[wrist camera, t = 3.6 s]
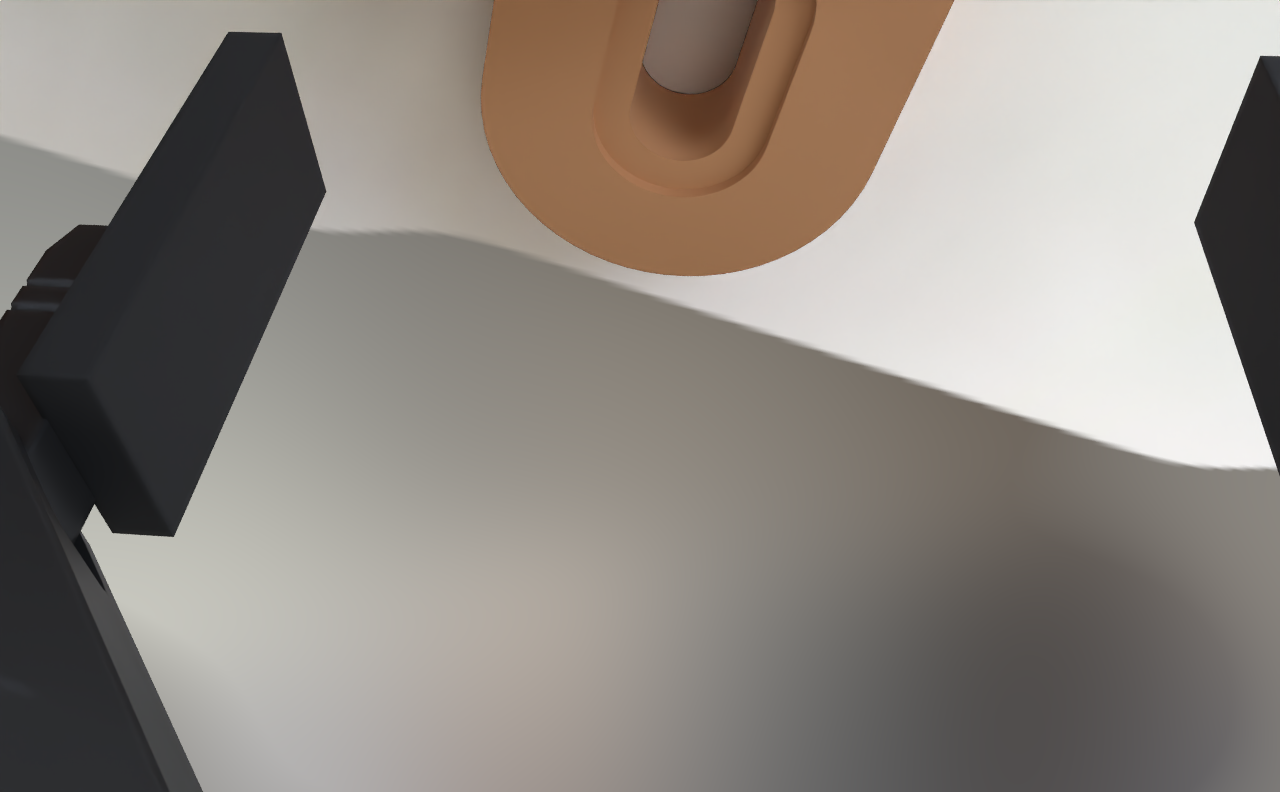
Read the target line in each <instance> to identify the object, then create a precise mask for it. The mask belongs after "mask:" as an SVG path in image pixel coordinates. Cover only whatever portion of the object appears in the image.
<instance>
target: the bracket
mask: <svg viewBox="0 0 1280 792" xmlns="http://www.w3.org/2000/svg"><path fill="white" fill-rule="evenodd" d="M658 2H659V0H494V4H493V11H492V17H491V24H490V30H489V37H488V44H487V50H486V57H485V63H484V70H483V77H482V88H481V110H482V119H483V125H484V131H485V135H486V138H487V141H488V145H489V148H490V151H491V153H492V156H493V158H494V160H495V163H496V165H497V167H498V169H499V171H500V172H501V174H502V176H503V178H504V179H505V181H506V183H507V184H508V186H509V187H510V188H511V190H512V191H513V193H514V194H515V195H516V197H517V198H518V199H519V200H520V201H521V202H522V204H523V205H524V206H525V207H526V208H527V209H528V210H529V211H530V212H531V213H532V214H533V215H534V216H535V217H536V218H537V219H538V220H539V221H540V222H541V223H542V224H544V225H545V226H546V227H548V228H549V229H550V230H551V231H553V232H554V233H555V234H557V235H558V236H560V237H561V238H563V239H564V240H566V241H568V242H569V243H571V244H572V245H574V246H576V247H578V248H580V249H582V250H583V251H585V252H587V253H589V254H591V255H594V256H596V257H599V258H601V259H603V260H606V261H608V262H611V263H614V264H617V265H621V266H624V267H627V268H631V269H635V270H640V271H644V272H650V273H656V274H663V275H676V276H706V275H717V274H725V273H731V272H736V271H742V270H745V269H749V268H753V267H757V266H760V265H763V264H766V263H768V262H771V261H774V260H777V259H779V258H781V257H783V256H785V255H788V254H790V253H792V252H794V251H796V250H798V249H799V248H801V247H803V246H804V245H806V244H808V243H809V242H811V241H813V240H814V239H815V238H817V237H818V236H819V235H821V234H822V233H823V232H825V231H826V230H827V229H828V228H830V227H831V226H832V225H833V224H834V223H835V222H836V221H837V220H838V219H840V218H841V216H842V215H843V214H844V213H845V212H846V211H847V210H848V209H849V208H850V206H851V205H852V204H853V203H854V201H855V200H856V199H857V197H858V196H859V194H860V193H861V192H862V190H863V189H864V187H865V185H866V183H867V181H868V180H869V178H870V176H871V174H872V172H873V170H874V168H875V166H876V164H877V162H878V160H879V157H880V155H881V153H882V151H883V149H884V147H885V145H886V143H887V141H888V139H889V136H890V134H891V132H892V130H893V128H894V126H895V124H896V122H897V120H898V118H899V115H900V113H901V111H902V109H903V107H904V105H905V103H906V101H907V99H908V97H909V94H910V92H911V90H912V88H913V86H914V84H915V82H916V80H917V78H918V75H919V73H920V71H921V69H922V67H923V65H924V63H925V61H926V59H927V57H928V54H929V52H930V50H931V48H932V46H933V44H934V42H935V40H936V38H937V36H938V33H939V31H940V29H941V27H942V25H943V23H944V21H945V19H946V17H947V15H948V12H949V10H950V8H951V6H952V4H953V2H954V0H758V1H757V4H756V7H755V10H754V13H753V16H752V19H751V22H750V25H749V28H748V31H747V34H746V37H745V40H744V43H743V46H742V49H741V52H740V55H739V58H738V61H737V64H736V66H735V69H734V70H733V72H732V74H731V75H730V77H729V78H728V79H727V80H726V81H725V82H724V83H723V84H721V85H720V86H718V87H717V88H715V89H713V90H711V91H708V92H705V93H701V94H680V93H676V92H673V91H670V90H668V89H665V88H664V87H662V86H660V85H659V84H657V83H656V82H655V81H654V80H653V79H652V78H651V77H650V76H649V74H648V73H647V72H646V70H645V68H644V66H643V64H642V62H643V58H644V54H645V51H646V47H647V43H648V39H649V36H650V32H651V28H652V24H653V21H654V17H655V13H656V9H657V6H658Z"/></svg>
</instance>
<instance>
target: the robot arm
mask: <svg viewBox="0 0 1280 792" xmlns="http://www.w3.org/2000/svg"><path fill="white" fill-rule="evenodd" d="M325 193H326V189H325V185H324V182H323V178H322V175H321V171H320V168H319V164H318V160H317V157H316V153H315V150H314V146H313V143H312V139H311V136H310V132H309V129H308V125H307V122H306V118H305V115H304V111H303V108H302V104H301V100H300V97H299V93H298V90H297V86H296V83H295V79H294V76H293V72H292V69H291V65H290V62H289V58H288V55H287V51H286V48H285V44H284V40H283V37H282V33H255V32H228V34H227V35H226V37H225V38H224V40H223V42H222V43H221V45H220V46H219V48H218V50H217V51H216V53H215V55H214V56H213V58H212V59H211V61H210V63H209V64H208V66H207V67H206V69H205V71H204V72H203V74H202V75H201V77H200V79H199V80H198V82H197V84H196V85H195V87H194V88H193V90H192V92H191V93H190V95H189V96H188V98H187V100H186V101H185V103H184V105H183V106H182V108H181V109H180V111H179V113H178V114H177V116H176V117H175V119H174V121H173V122H172V124H171V125H170V127H169V129H168V130H167V132H166V134H165V135H164V137H163V138H162V140H161V142H160V143H159V145H158V146H157V148H156V150H155V151H154V153H153V154H152V156H151V158H150V159H149V161H148V163H147V164H146V166H145V167H144V169H143V171H142V172H141V174H140V175H139V177H138V179H137V180H136V182H135V184H134V185H133V187H132V188H131V190H130V192H129V193H128V195H127V197H126V198H125V200H124V201H123V203H122V205H121V206H120V208H119V209H118V211H117V213H116V214H115V216H114V218H113V219H112V221H111V222H110V224H109V225H108V226H101V225H100V226H99V225H78V226H77V227H75V228H74V229H73V230H72V231H71V232H69V233H68V234H67V235H65V236H64V237H63V238H62V239H60V240H59V241H58V242H56V243H55V244H54V245H53V246H51V247H50V248H49V249H47V250H46V251H45V253H44V255H43V256H42V258H41V259H40V261H39V262H38V264H37V265H36V267H35V268H34V270H33V271H32V273H31V274H30V276H29V277H28V279H27V286H22V288H21V289H20V291H19V292H18V294H17V296H16V297H15V298H14V300H13V301H12V303H11V306H12V308H11V310H7V311H6V312H5V314H4V315H3V317H2V318H1V320H0V792H203V791H202V789H201V787H200V784H199V782H198V780H197V778H196V776H195V774H194V771H193V769H192V767H191V765H190V763H189V761H188V758H187V756H186V754H185V752H184V750H183V747H182V745H181V743H180V741H179V739H178V736H177V734H176V732H175V730H174V728H173V726H172V723H171V721H170V719H169V717H168V715H167V713H166V710H165V708H164V706H163V704H162V702H161V699H160V697H159V695H158V693H157V691H156V688H155V686H154V684H153V682H152V680H151V678H150V675H149V673H148V671H147V669H146V667H145V665H144V662H143V660H142V658H141V656H140V654H139V651H138V649H137V647H136V645H135V643H134V640H133V638H132V637H131V634H130V632H129V630H128V627H127V625H126V623H125V621H124V619H123V616H122V614H121V612H120V610H119V608H118V606H117V604H116V601H115V599H114V597H113V595H112V593H111V590H110V588H109V586H108V584H107V582H106V579H105V578H104V575H103V573H102V571H101V569H100V566H99V564H98V562H97V560H96V558H95V555H94V553H93V551H92V549H91V547H90V545H89V543H88V542H87V540H86V539H85V537H84V536H83V534H82V532H81V529H82V527H83V525H84V523H85V521H86V519H87V517H88V515H89V513H90V511H91V509H92V507H93V506H94V504H95V505H96V507H97V509H98V510H99V512H100V513H101V515H102V517H103V518H104V520H105V522H106V523H107V524H108V526H109V528H110V530H111V531H112V533H120V534H137V535H152V536H168V537H174V535H175V533H176V531H177V528H178V526H179V524H180V522H181V519H182V517H183V515H184V513H185V510H186V508H187V506H188V504H189V501H190V499H191V497H192V494H193V492H194V490H195V488H196V485H197V483H198V481H199V478H200V476H201V474H202V472H203V470H204V467H205V465H206V463H207V460H208V458H209V456H210V454H211V451H212V449H213V447H214V445H215V442H216V440H217V438H218V435H219V433H220V431H221V429H222V427H223V424H224V422H225V420H226V417H227V415H228V413H229V410H230V408H231V406H232V404H233V401H234V399H235V397H236V395H237V392H238V390H239V388H240V386H241V383H242V381H243V379H244V377H245V374H246V372H247V370H248V367H249V365H250V363H251V361H252V359H253V356H254V354H255V352H256V349H257V347H258V345H259V343H260V340H261V338H262V336H263V333H264V331H265V329H266V327H267V325H268V322H269V320H270V317H271V315H272V313H273V311H274V309H275V306H276V304H277V302H278V300H279V297H280V295H281V293H282V290H283V288H284V286H285V284H286V281H287V279H288V277H289V275H290V272H291V270H292V268H293V265H294V263H295V261H296V259H297V256H298V254H299V252H300V250H301V248H302V245H303V243H304V241H305V239H306V236H307V234H308V232H309V229H310V227H311V225H312V223H313V220H314V218H315V216H316V214H317V211H318V209H319V207H320V205H321V202H322V200H323V198H324V195H325ZM1194 223H1195V226H1196V229H1197V232H1198V235H1199V238H1200V241H1201V244H1202V247H1203V250H1204V253H1205V256H1206V259H1207V262H1208V265H1209V268H1210V271H1211V274H1212V277H1213V279H1214V282H1215V285H1216V288H1217V291H1218V294H1219V297H1220V300H1221V303H1222V306H1223V309H1224V312H1225V315H1226V318H1227V321H1228V324H1229V327H1230V330H1231V333H1232V336H1233V339H1234V342H1235V345H1236V348H1237V351H1238V354H1239V357H1240V359H1241V362H1242V365H1243V368H1244V371H1245V374H1246V377H1247V380H1248V383H1249V386H1250V389H1251V392H1252V395H1253V398H1254V401H1255V404H1256V407H1257V410H1258V413H1259V416H1260V419H1261V422H1262V425H1263V428H1264V431H1265V434H1266V437H1267V439H1268V442H1269V445H1270V448H1271V451H1272V454H1273V457H1274V460H1275V463H1276V466H1277V469H1278V472H1279V475H1280V56H1260V58H1259V61H1258V63H1257V66H1256V68H1255V71H1254V73H1253V76H1252V78H1251V81H1250V83H1249V86H1248V89H1247V91H1246V94H1245V96H1244V99H1243V101H1242V104H1241V106H1240V109H1239V111H1238V114H1237V116H1236V119H1235V121H1234V124H1233V126H1232V129H1231V131H1230V134H1229V136H1228V139H1227V141H1226V144H1225V146H1224V149H1223V151H1222V154H1221V156H1220V159H1219V161H1218V164H1217V166H1216V169H1215V171H1214V174H1213V176H1212V179H1211V181H1210V184H1209V186H1208V189H1207V191H1206V194H1205V196H1204V199H1203V201H1202V204H1201V206H1200V209H1199V212H1198V214H1197V217H1196V219H1195V222H1194Z"/></svg>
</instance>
